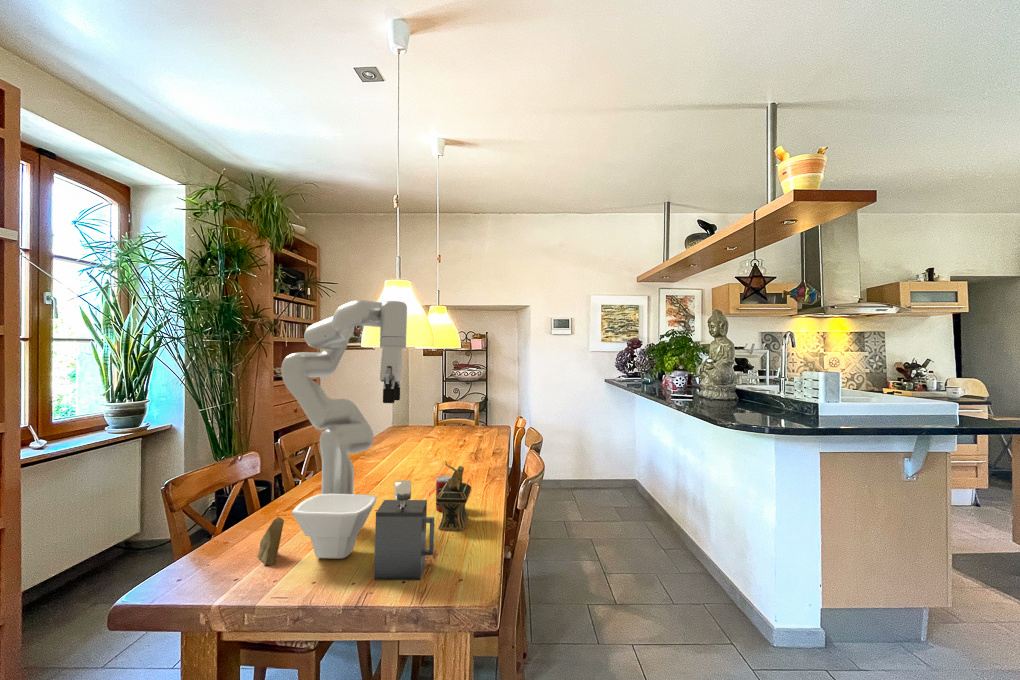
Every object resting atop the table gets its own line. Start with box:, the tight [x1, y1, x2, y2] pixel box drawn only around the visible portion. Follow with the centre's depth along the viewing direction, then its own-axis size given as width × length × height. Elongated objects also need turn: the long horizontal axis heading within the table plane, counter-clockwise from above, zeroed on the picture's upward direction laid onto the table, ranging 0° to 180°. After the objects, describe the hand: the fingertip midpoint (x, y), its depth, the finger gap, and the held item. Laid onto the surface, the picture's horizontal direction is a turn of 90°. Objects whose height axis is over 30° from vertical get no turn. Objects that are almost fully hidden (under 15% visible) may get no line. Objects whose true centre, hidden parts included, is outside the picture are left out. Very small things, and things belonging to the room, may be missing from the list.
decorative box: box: [435, 460, 472, 531], centre depth 165 cm, size 20×10×20 cm, turn 179°
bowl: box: [291, 493, 377, 559], centre depth 138 cm, size 19×19×14 cm
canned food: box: [435, 475, 452, 513], centre depth 181 cm, size 8×8×11 cm
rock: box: [257, 516, 285, 566], centre depth 135 cm, size 11×9×10 cm
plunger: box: [394, 479, 412, 507], centre depth 129 cm, size 9×9×20 cm
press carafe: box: [373, 499, 435, 581], centre depth 129 cm, size 14×11×16 cm
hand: (391, 401), depth 151 cm, fingers open, 9 cm apart
